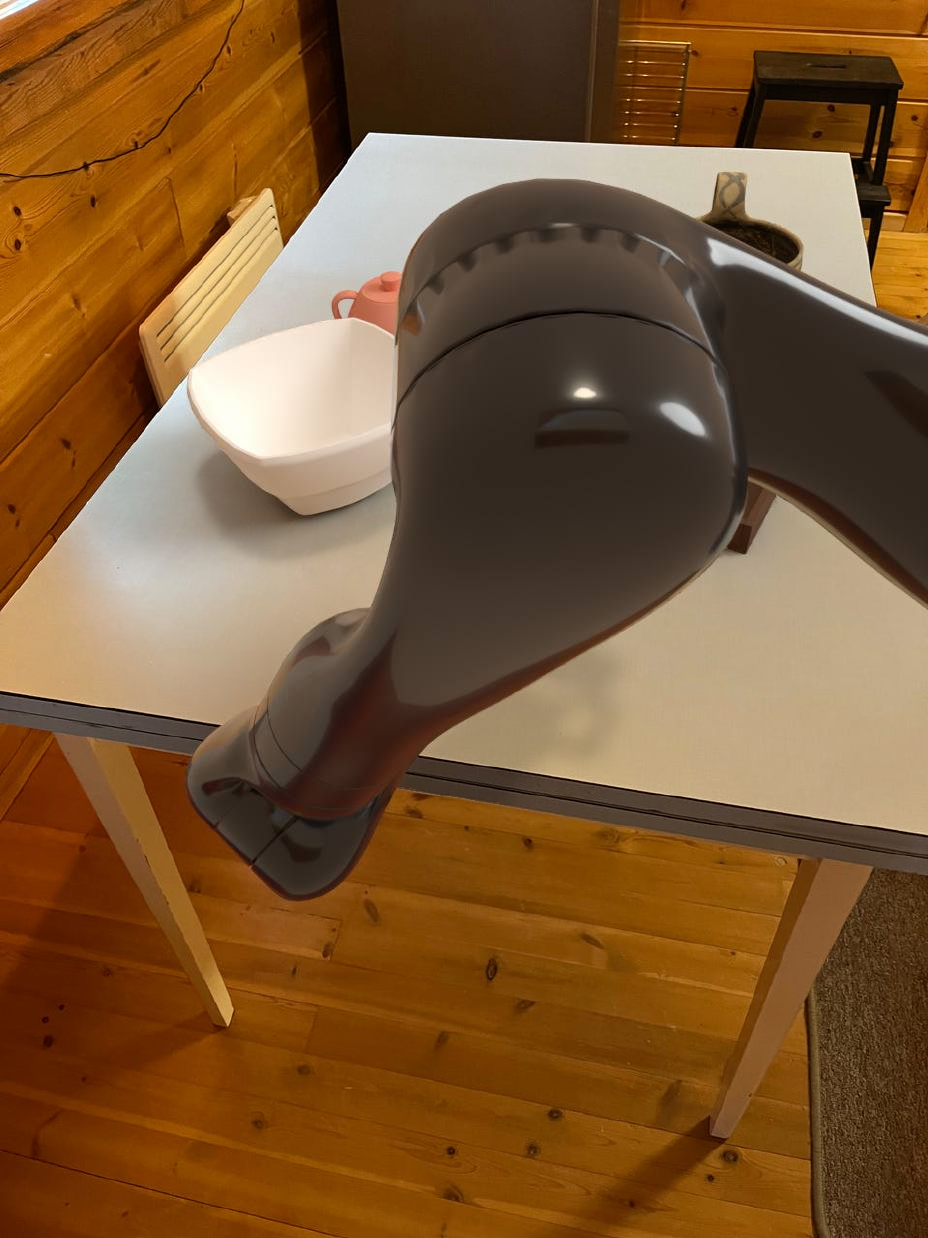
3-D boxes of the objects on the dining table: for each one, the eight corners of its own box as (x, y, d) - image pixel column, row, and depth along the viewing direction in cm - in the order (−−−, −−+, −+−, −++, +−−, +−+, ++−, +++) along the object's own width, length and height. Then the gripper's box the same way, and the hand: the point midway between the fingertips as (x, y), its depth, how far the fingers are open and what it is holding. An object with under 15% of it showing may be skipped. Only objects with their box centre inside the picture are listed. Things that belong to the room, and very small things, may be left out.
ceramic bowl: (650, 284, 123) (663, 165, 112) (783, 291, 120) (809, 170, 109) (637, 372, 108) (651, 244, 97) (788, 383, 105) (820, 253, 94)
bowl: (476, 498, 93) (472, 397, 84) (270, 582, 85) (244, 480, 77) (375, 398, 106) (363, 302, 98) (190, 463, 99) (160, 365, 90)
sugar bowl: (448, 381, 108) (443, 298, 101) (328, 385, 109) (315, 302, 101) (450, 329, 117) (445, 249, 109) (339, 332, 117) (327, 253, 110)
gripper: (564, 629, 53) (705, 480, 62) (376, 536, 59) (528, 414, 68) (560, 713, 58) (690, 564, 67) (388, 619, 65) (528, 495, 74)
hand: (608, 489), depth 68 cm, fingers closed on beverage cup, 5 cm apart
